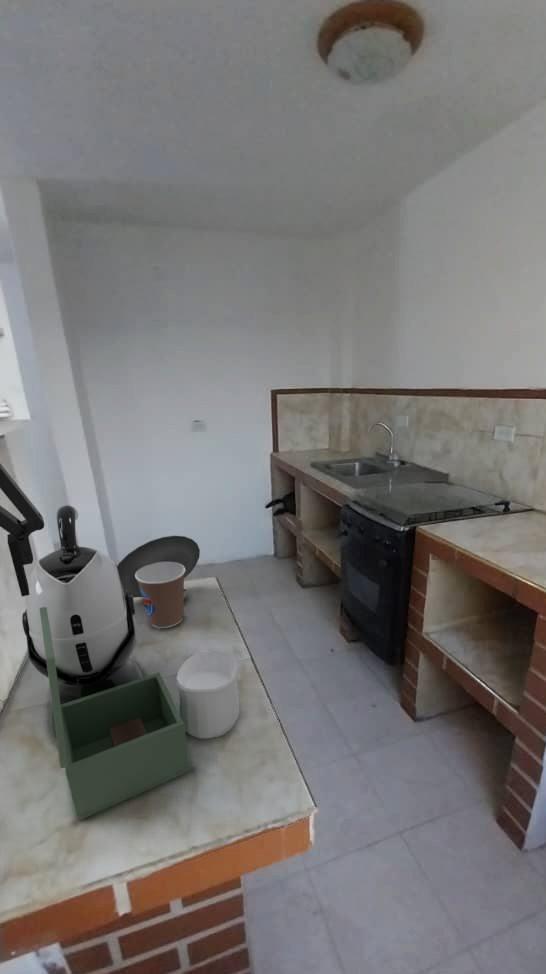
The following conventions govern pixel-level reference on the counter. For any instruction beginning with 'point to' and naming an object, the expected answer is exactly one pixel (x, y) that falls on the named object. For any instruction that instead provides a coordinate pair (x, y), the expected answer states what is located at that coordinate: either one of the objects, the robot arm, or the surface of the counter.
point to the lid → (54, 687)
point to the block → (127, 732)
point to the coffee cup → (162, 592)
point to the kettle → (80, 617)
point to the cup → (208, 694)
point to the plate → (157, 559)
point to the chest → (132, 765)
